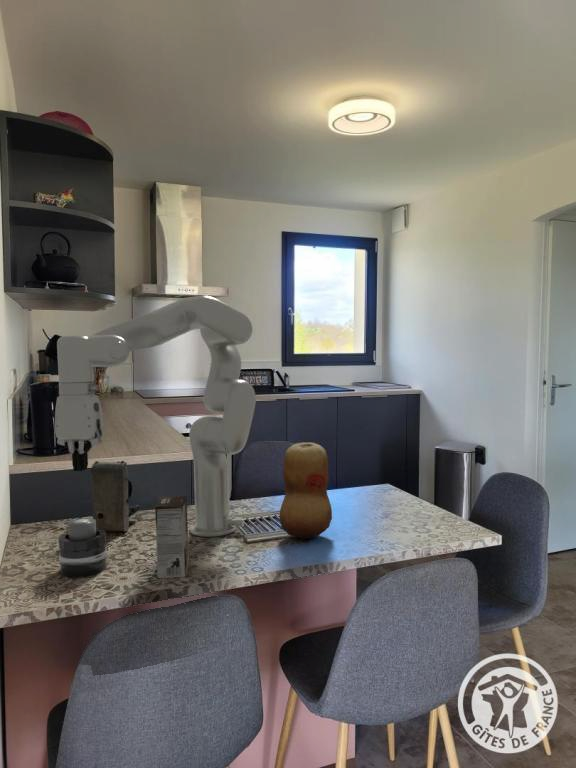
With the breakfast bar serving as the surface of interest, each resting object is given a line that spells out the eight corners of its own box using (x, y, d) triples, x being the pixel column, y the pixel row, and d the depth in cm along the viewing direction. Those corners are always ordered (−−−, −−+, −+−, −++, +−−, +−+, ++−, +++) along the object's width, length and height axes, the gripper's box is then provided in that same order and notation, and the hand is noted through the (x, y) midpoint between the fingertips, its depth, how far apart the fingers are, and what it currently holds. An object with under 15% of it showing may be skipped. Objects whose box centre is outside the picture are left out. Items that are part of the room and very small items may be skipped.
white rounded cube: (101, 539, 136) (100, 517, 136) (87, 548, 130) (86, 525, 130) (78, 538, 137) (77, 517, 137) (63, 547, 131) (62, 524, 131)
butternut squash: (294, 549, 144) (291, 449, 143) (272, 534, 156) (270, 442, 155) (342, 540, 150) (340, 444, 149) (317, 527, 162) (316, 438, 161)
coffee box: (161, 564, 136) (159, 496, 135) (189, 562, 137) (187, 494, 136) (156, 579, 127) (153, 506, 126) (186, 577, 128) (183, 504, 127)
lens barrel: (115, 562, 138) (114, 529, 137) (91, 579, 128) (89, 543, 127) (77, 559, 140) (75, 527, 140) (50, 576, 130) (48, 540, 130)
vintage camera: (145, 519, 175) (142, 453, 175) (125, 533, 160) (122, 461, 160) (114, 520, 176) (111, 454, 176) (92, 534, 161) (89, 462, 161)
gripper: (115, 388, 134) (118, 467, 135) (58, 389, 138) (61, 466, 139) (97, 391, 127) (100, 474, 128) (37, 391, 130) (41, 472, 131)
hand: (80, 470), depth 133 cm, fingers closed
